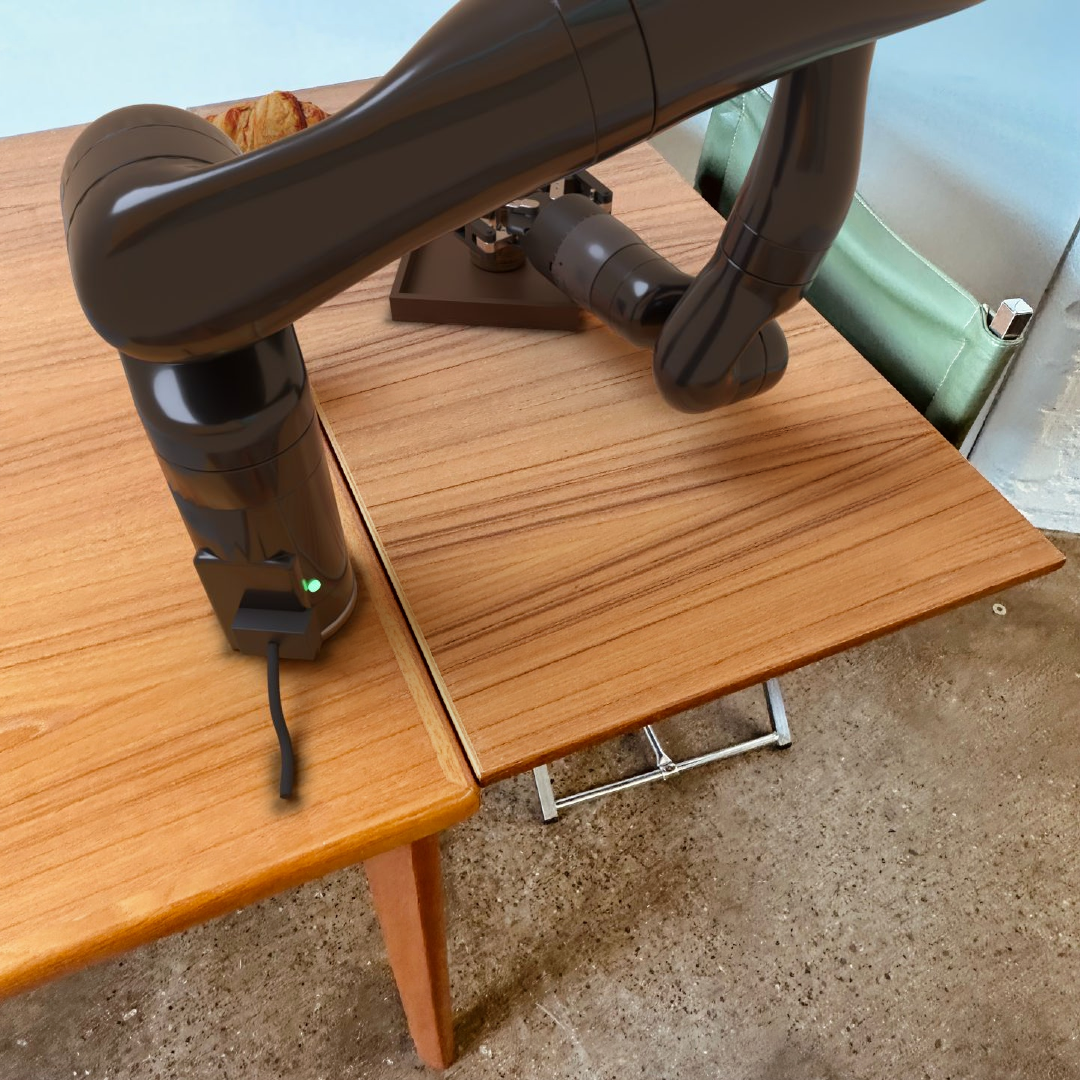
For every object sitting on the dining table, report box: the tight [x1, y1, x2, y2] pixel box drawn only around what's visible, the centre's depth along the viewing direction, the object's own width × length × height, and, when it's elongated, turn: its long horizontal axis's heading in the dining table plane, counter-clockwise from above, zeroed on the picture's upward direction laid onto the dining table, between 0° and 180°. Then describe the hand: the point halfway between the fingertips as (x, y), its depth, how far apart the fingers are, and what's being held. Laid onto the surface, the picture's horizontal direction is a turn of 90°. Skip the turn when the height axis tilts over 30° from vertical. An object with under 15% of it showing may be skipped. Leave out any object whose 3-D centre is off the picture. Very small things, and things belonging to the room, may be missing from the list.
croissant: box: [203, 89, 336, 154], centre depth 105 cm, size 21×10×8 cm, turn 93°
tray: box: [388, 189, 580, 332], centre depth 92 cm, size 22×18×3 cm
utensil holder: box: [469, 196, 526, 272], centre depth 88 cm, size 6×6×12 cm
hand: (490, 177), depth 86 cm, fingers open, 8 cm apart
